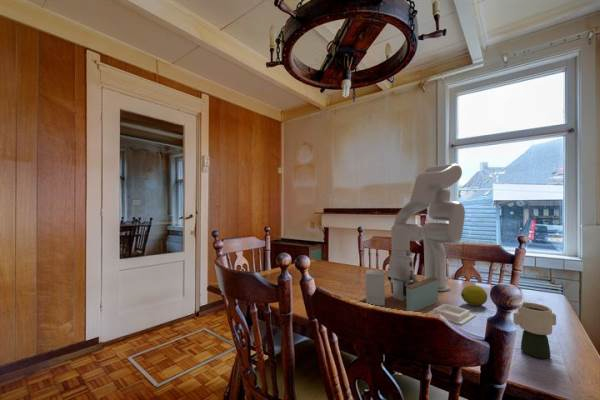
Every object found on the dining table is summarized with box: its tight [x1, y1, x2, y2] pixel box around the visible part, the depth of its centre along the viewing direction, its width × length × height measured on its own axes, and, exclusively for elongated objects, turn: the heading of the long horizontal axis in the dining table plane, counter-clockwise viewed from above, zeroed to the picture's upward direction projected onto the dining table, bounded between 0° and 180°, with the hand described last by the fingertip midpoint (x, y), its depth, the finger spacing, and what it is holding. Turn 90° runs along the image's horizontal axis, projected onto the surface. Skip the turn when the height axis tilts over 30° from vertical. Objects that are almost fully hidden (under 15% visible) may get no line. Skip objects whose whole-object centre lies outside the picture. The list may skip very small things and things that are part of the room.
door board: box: [406, 277, 439, 313], centre depth 110 cm, size 20×2×10 cm, turn 127°
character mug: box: [513, 301, 557, 359], centre depth 75 cm, size 11×7×13 cm, turn 87°
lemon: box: [460, 284, 488, 307], centre depth 111 cm, size 11×8×8 cm
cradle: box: [427, 303, 477, 326], centre depth 101 cm, size 12×12×2 cm
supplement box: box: [365, 269, 386, 306], centre depth 115 cm, size 7×7×13 cm
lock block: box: [392, 279, 407, 301], centre depth 120 cm, size 5×5×8 cm
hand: (401, 294), depth 120 cm, fingers open, 6 cm apart
